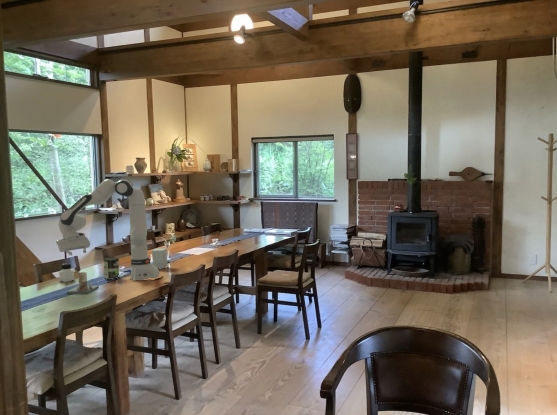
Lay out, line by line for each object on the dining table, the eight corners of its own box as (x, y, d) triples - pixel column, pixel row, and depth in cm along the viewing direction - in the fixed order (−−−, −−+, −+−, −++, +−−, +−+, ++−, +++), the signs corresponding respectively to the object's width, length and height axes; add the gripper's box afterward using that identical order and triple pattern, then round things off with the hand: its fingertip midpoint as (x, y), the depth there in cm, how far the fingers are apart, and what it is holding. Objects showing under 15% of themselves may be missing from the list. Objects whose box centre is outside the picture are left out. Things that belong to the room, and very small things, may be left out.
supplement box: (167, 266, 369) (167, 248, 368) (163, 269, 360) (163, 250, 359) (156, 266, 370) (155, 248, 369) (152, 269, 361) (151, 250, 360)
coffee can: (122, 276, 340) (121, 257, 339) (114, 279, 330) (113, 260, 329) (109, 275, 342) (108, 257, 341) (101, 279, 332) (100, 259, 331)
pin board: (98, 288, 309) (98, 280, 309) (87, 294, 295) (87, 286, 295) (78, 287, 311) (78, 280, 310) (67, 293, 297) (66, 285, 296)
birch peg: (88, 287, 305) (87, 272, 304) (84, 289, 300) (83, 274, 299) (81, 287, 306) (80, 272, 305) (77, 289, 301) (76, 273, 300)
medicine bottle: (74, 280, 332) (73, 263, 331) (65, 282, 326) (64, 265, 325) (68, 278, 336) (67, 262, 334) (59, 281, 330) (58, 264, 328)
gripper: (56, 237, 311) (63, 253, 305) (86, 233, 325) (94, 248, 319) (54, 243, 314) (61, 259, 308) (84, 238, 329) (91, 254, 323)
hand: (78, 253), depth 314 cm, fingers open, 8 cm apart
